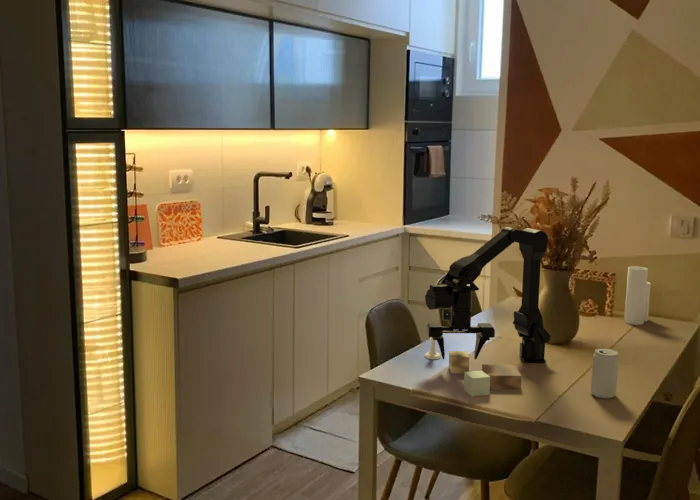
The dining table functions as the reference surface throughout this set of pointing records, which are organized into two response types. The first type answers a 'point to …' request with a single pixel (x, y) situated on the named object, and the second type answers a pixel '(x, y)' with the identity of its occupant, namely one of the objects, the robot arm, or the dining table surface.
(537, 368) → the dining table surface
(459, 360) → the oak cube
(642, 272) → the vase
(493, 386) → the pedestal
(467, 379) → the sage block
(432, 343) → the chess piece
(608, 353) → the beverage can
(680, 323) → the dining table surface
